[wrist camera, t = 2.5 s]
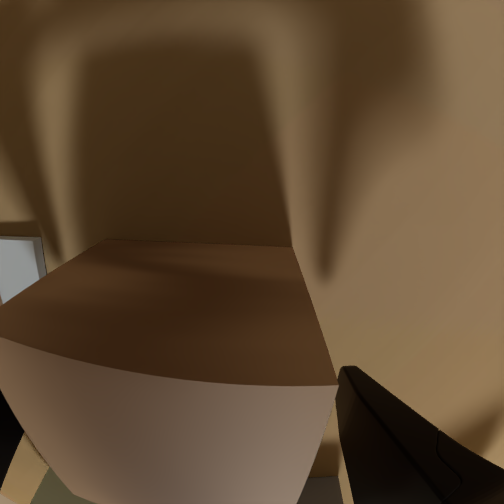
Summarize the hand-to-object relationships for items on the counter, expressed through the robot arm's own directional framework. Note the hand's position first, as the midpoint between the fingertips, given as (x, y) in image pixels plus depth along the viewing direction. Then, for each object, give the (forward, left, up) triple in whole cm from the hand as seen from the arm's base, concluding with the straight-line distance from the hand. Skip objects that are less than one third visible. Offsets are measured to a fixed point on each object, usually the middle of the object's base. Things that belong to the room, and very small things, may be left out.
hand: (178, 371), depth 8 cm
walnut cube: (0, 0, -2) cm, 2 cm away
